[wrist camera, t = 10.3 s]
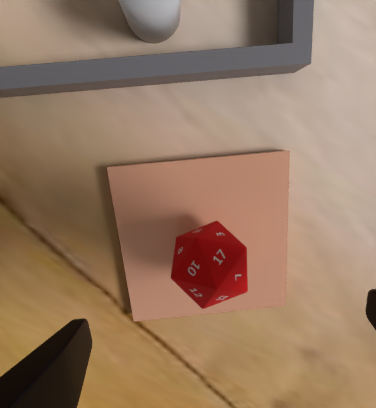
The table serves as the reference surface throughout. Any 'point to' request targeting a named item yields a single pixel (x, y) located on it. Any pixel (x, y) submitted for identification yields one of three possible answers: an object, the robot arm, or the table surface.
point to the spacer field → (170, 55)
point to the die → (210, 265)
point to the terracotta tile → (197, 217)
